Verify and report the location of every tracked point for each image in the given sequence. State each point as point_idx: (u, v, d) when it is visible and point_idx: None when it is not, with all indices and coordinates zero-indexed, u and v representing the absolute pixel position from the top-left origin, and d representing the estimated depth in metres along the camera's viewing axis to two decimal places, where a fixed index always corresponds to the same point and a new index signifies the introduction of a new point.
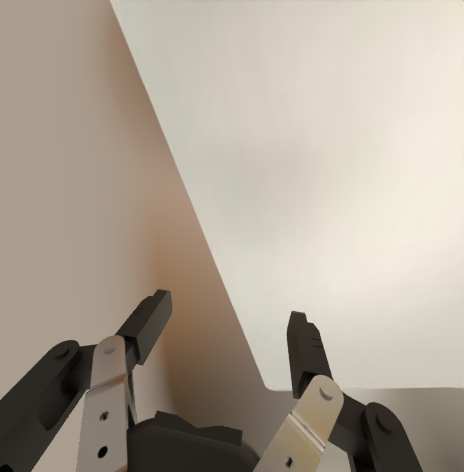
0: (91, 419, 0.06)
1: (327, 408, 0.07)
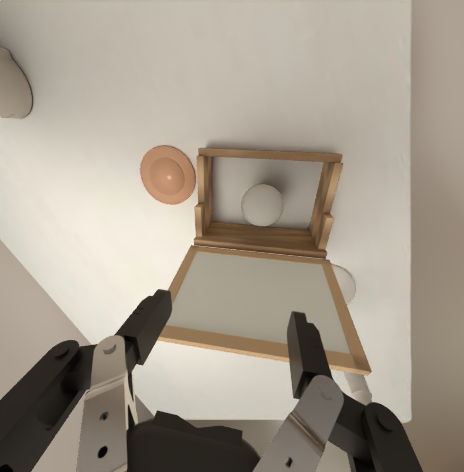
0: (91, 419, 0.06)
1: (327, 408, 0.07)
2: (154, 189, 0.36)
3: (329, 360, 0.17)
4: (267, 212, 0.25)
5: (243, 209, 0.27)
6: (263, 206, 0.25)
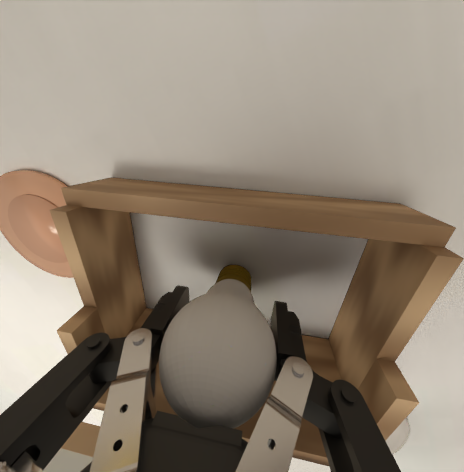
0: (113, 408, 0.06)
1: (300, 385, 0.08)
2: (29, 250, 0.18)
3: None
4: (222, 425, 0.07)
5: None
6: (206, 411, 0.07)
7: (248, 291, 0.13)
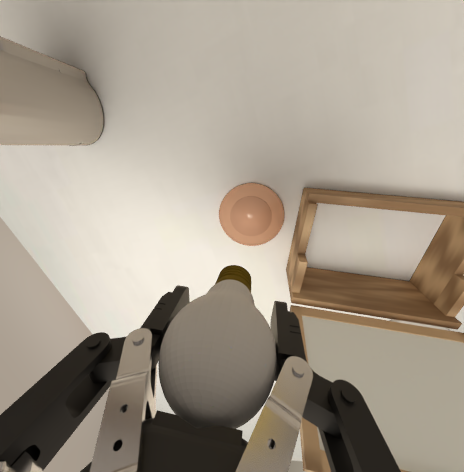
0: (113, 408, 0.06)
1: (300, 385, 0.08)
2: (232, 228, 0.31)
3: None
4: None
5: None
6: (206, 412, 0.07)
7: (248, 292, 0.13)
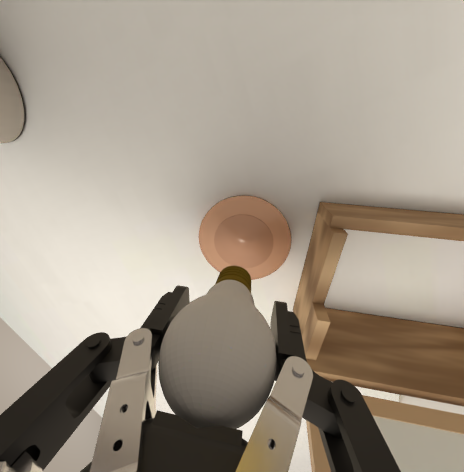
0: (113, 408, 0.06)
1: (300, 385, 0.08)
2: (218, 258, 0.22)
3: None
4: None
5: None
6: (206, 413, 0.07)
7: (248, 292, 0.13)
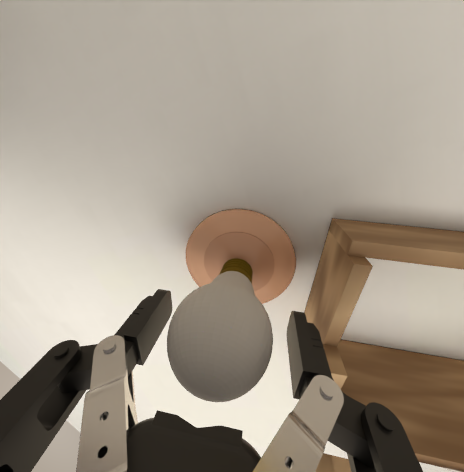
0: (91, 419, 0.06)
1: (327, 408, 0.07)
2: (209, 280, 0.19)
3: None
4: (221, 395, 0.09)
5: None
6: (208, 382, 0.08)
7: (249, 282, 0.14)
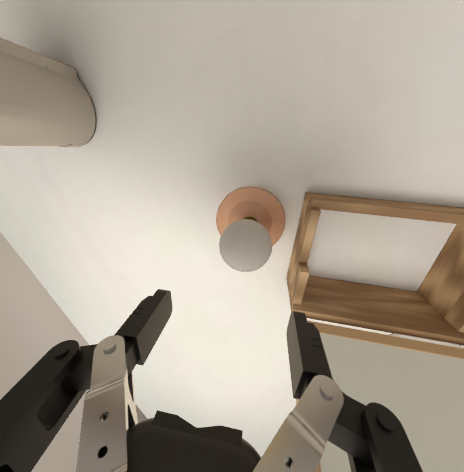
0: (91, 419, 0.06)
1: (327, 408, 0.07)
2: None
3: None
4: (250, 259, 0.19)
5: (220, 251, 0.21)
6: (244, 252, 0.19)
7: None
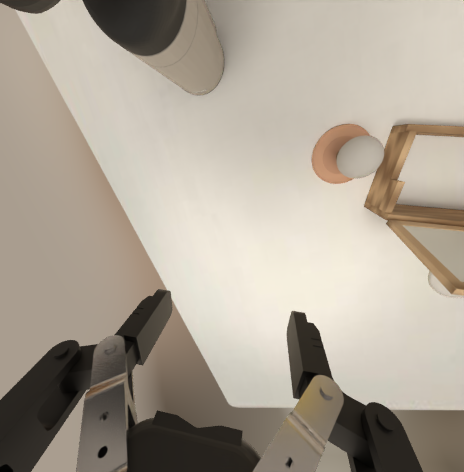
0: (91, 419, 0.06)
1: (327, 408, 0.07)
2: (322, 168, 0.37)
3: None
4: (374, 159, 0.26)
5: (344, 159, 0.28)
6: (371, 153, 0.26)
7: None
